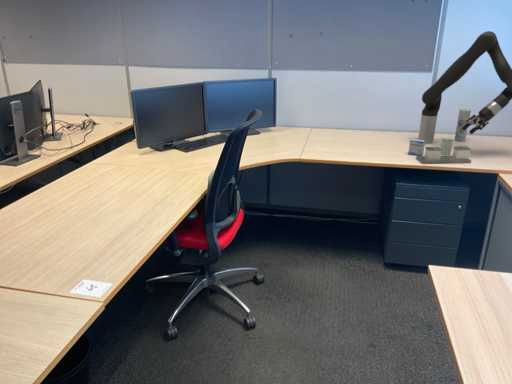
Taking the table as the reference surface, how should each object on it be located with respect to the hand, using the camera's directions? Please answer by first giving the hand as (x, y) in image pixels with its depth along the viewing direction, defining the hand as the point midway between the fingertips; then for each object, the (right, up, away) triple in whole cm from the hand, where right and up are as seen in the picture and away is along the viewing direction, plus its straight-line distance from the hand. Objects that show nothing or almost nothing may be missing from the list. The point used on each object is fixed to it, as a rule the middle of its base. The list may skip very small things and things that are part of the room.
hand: (466, 131), depth 245 cm
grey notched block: (-16, -18, -6) cm, 25 cm away
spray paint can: (+12, -2, +32) cm, 34 cm away
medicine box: (-27, -13, +5) cm, 31 cm away
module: (-10, -13, +5) cm, 17 cm away
